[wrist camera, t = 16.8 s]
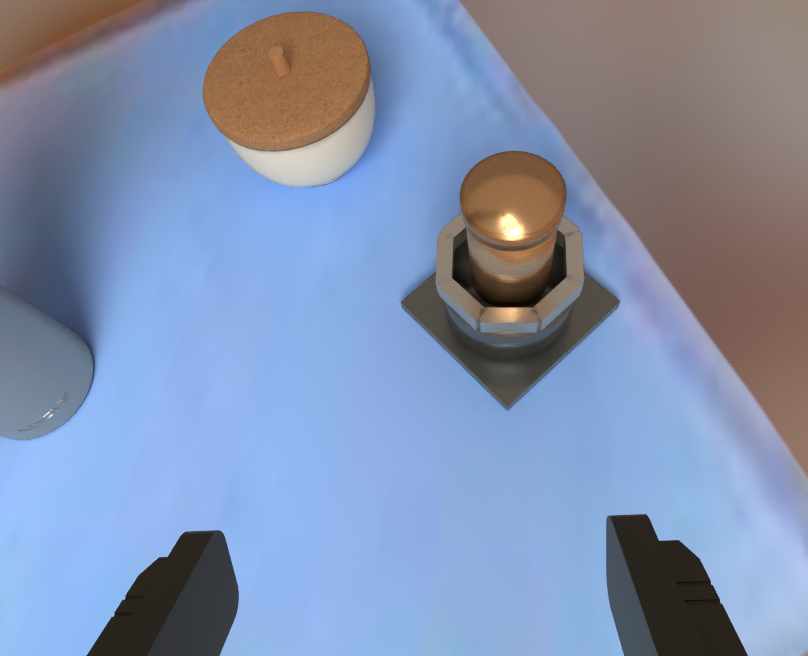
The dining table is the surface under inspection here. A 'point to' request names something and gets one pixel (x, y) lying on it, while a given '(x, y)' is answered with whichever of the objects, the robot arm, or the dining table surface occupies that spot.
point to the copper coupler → (512, 226)
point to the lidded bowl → (293, 97)
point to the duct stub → (509, 315)
